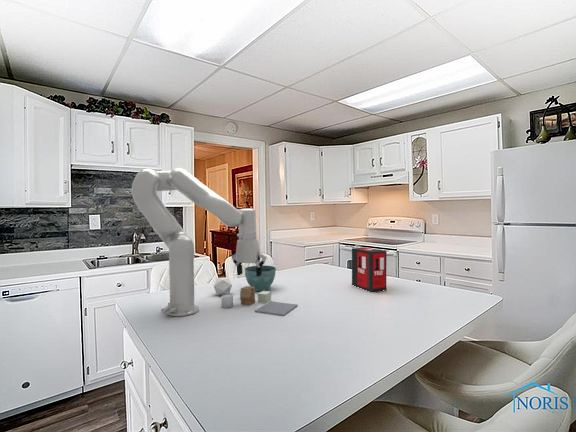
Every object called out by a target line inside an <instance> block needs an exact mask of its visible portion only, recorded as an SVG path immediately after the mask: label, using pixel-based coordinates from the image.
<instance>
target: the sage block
mask: <svg viewBox="0 0 576 432" xmlns="http://www.w3.org/2000/svg"><path fill="white" fill-rule="evenodd" d="M270 301H272V292H271V291H269V290H266V291H259V292H258V293H257V302H258V303H260V304H261V303H263V304H267V303H268V302H270Z"/></svg>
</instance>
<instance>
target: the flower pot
mask: <svg viewBox="0 0 576 432" xmlns="http://www.w3.org/2000/svg"><path fill="white" fill-rule="evenodd" d="M256 268H257V266H256V265H251V266H247V267H246V266H245V268H244V276H245V278H246V282H247V283H248V285H249V287H255V292H262V291H269V290H270V288H271V286H272V284H273V283H274V280H275V279H276V278H275V277H276V270H277V268H276V266H272V265H266V264H263V266H262V274H261V276H259V277H257V275H256Z"/></svg>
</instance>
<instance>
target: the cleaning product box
mask: <svg viewBox="0 0 576 432" xmlns="http://www.w3.org/2000/svg"><path fill="white" fill-rule="evenodd" d="M352 285H354V286H356V287H355V288H357V287H359V288H358V289H360V288H362V289H364V290H363V291H365V290H367V291H366V292H368V291H370V292H369V293H371V292H376V293H378V292H377V291H383V290H386V291H387V250H382V249H378V248H370V247H365V246H364V247H354V248H351V286H352ZM354 286H353V287H354ZM362 289H361V290H362ZM383 292H384V291H383Z"/></svg>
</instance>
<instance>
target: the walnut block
mask: <svg viewBox="0 0 576 432" xmlns="http://www.w3.org/2000/svg"><path fill="white" fill-rule="evenodd" d="M240 291H241V300H240V305H243V306H249V307H250V306H252V305H253V304H255V303H256V291H255V287H251V286H250V285H249V286H248V285H246V286H244V287H242V288H240Z"/></svg>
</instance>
